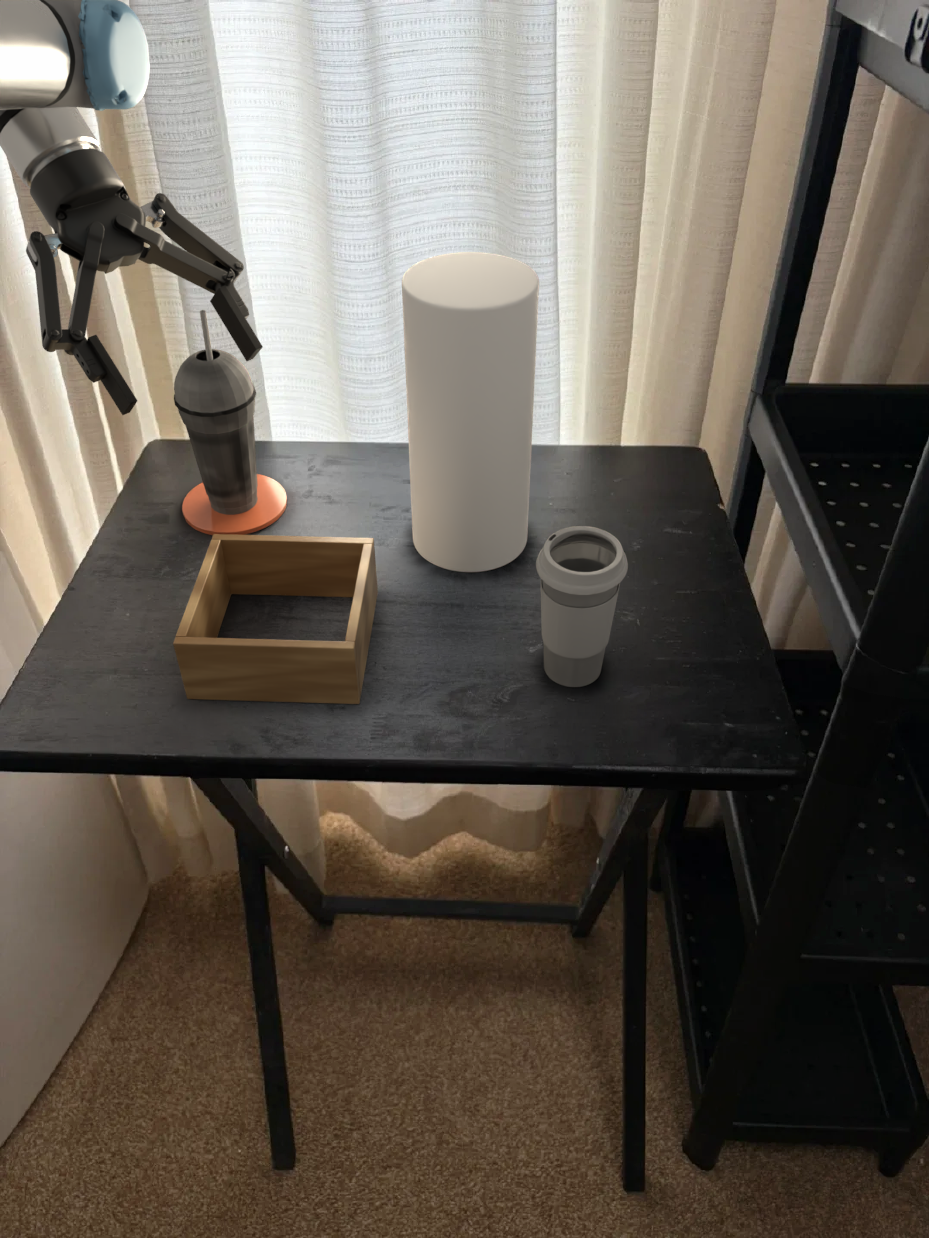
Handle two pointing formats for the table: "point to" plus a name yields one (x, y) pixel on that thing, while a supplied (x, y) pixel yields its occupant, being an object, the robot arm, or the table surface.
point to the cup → (578, 601)
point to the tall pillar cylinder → (470, 406)
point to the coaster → (247, 522)
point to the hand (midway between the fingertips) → (195, 380)
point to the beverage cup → (220, 424)
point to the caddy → (267, 662)
